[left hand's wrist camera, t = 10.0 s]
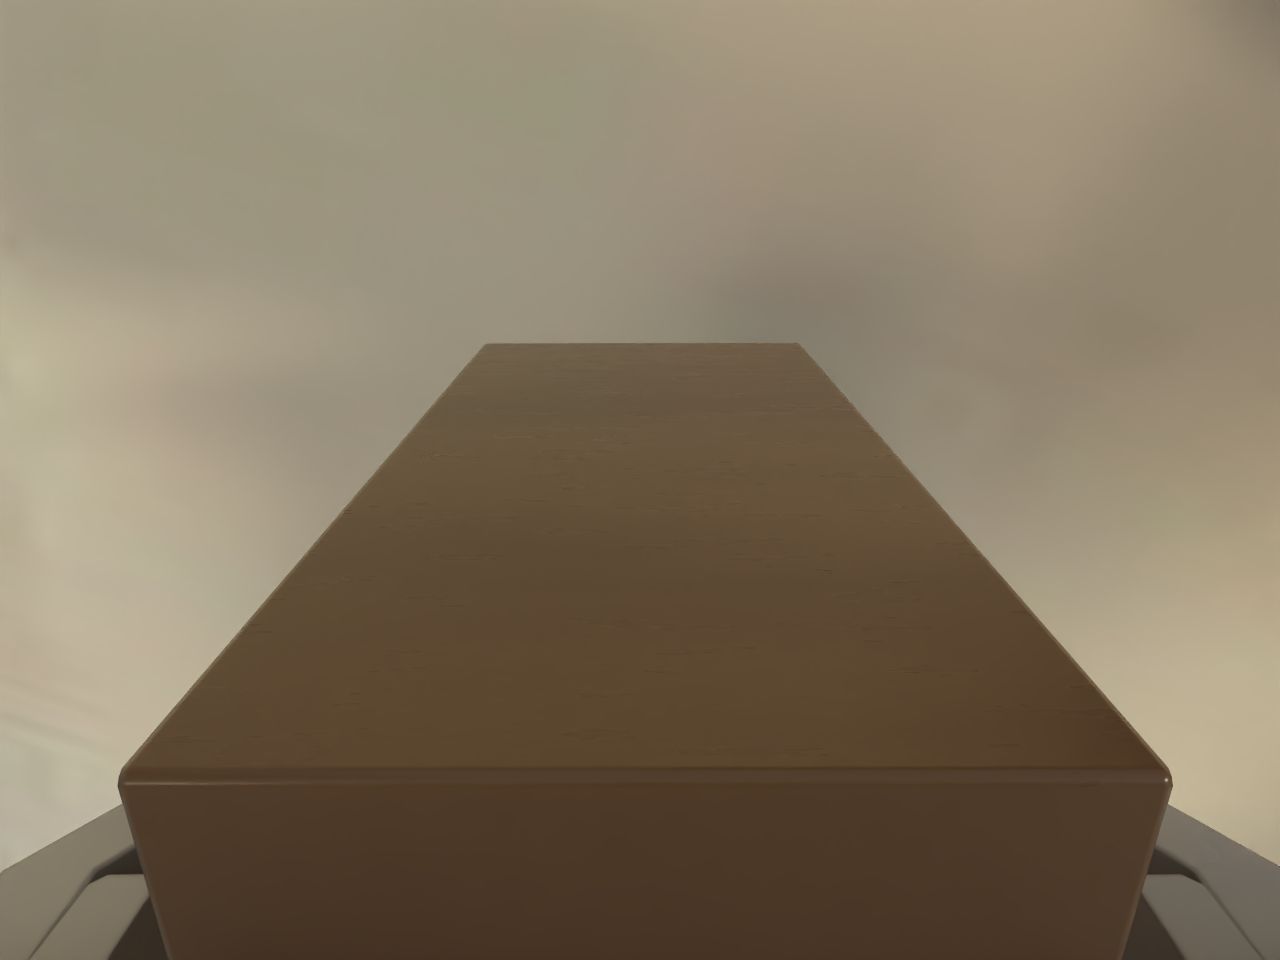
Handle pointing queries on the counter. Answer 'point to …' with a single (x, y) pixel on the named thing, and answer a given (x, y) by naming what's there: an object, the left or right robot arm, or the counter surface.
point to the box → (644, 701)
